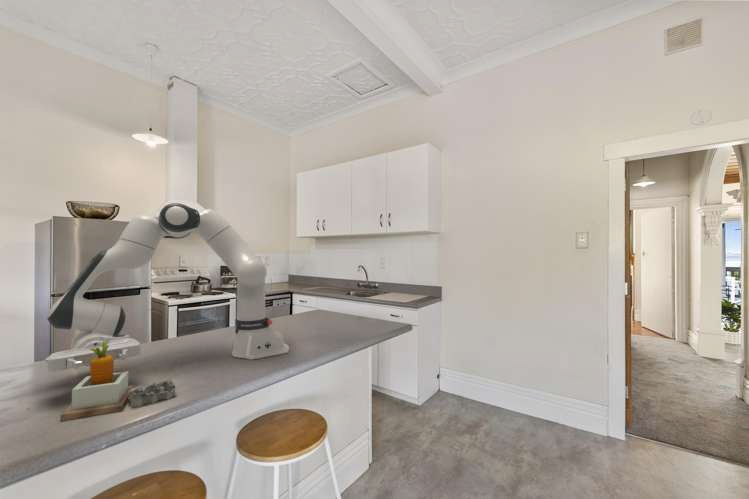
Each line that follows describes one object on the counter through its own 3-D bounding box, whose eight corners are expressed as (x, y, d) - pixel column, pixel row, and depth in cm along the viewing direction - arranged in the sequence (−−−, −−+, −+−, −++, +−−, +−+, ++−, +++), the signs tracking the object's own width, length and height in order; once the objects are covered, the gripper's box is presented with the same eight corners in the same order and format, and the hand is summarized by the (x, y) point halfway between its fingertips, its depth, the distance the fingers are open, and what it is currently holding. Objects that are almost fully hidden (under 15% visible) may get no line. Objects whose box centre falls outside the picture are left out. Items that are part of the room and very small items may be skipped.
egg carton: (129, 410, 83) (129, 395, 83) (127, 400, 89) (127, 385, 89) (176, 398, 90) (177, 384, 90) (172, 389, 96) (172, 376, 96)
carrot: (98, 403, 83) (98, 346, 83) (85, 401, 84) (84, 345, 84) (118, 395, 88) (118, 341, 88) (105, 392, 89) (104, 339, 89)
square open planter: (127, 388, 92) (128, 371, 92) (118, 402, 84) (118, 383, 84) (86, 394, 88) (86, 376, 88) (71, 409, 80) (72, 389, 80)
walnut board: (135, 389, 95) (135, 384, 95) (121, 411, 82) (122, 405, 82) (83, 397, 89) (83, 391, 90) (60, 421, 77) (60, 415, 77)
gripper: (45, 347, 89) (47, 358, 80) (134, 333, 104) (145, 342, 95) (44, 369, 89) (46, 383, 80) (134, 353, 104) (144, 363, 95)
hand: (101, 361), depth 87 cm, fingers open, 8 cm apart
